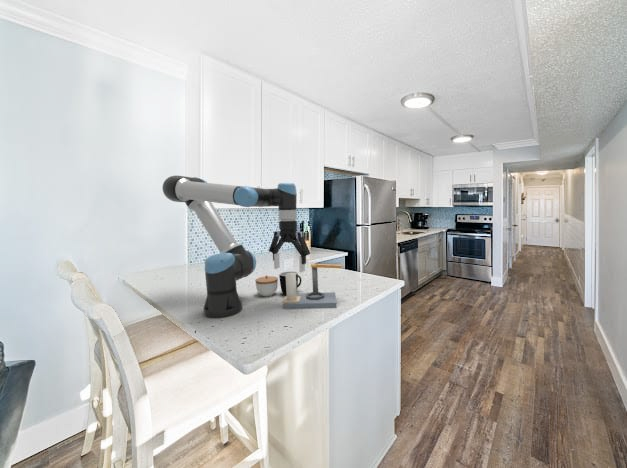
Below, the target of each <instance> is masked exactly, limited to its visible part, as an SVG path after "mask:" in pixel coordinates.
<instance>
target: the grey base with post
mask: <svg viewBox="0 0 627 468" xmlns="http://www.w3.org/2000/svg"><path fill="white" fill-rule="evenodd" d="M318 274H319V273H318V267H316V268H312V267H311V276H312V278H311V279H312V292H297V299H296V300H293V301H289V300H287V296H284V298H283V300H282V307H283V309H285V310H286V309H288V310H290V309H326V308H327V309H328V308H329V309H330V308H332V309H333V308H336V307H337V298H336V297H337V296H336V292H335V291H333V292H331V291H330V292H320V291H319V280H318V278H319V275H318Z"/></svg>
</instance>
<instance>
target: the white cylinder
mask: <svg viewBox="0 0 627 468" xmlns="http://www.w3.org/2000/svg"><path fill="white" fill-rule="evenodd" d="M285 275H286V294H287V296H286V297H287V300H289V301H293V300H296V299H297V293H298V288H297V289H296V273H287V274H285Z"/></svg>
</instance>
